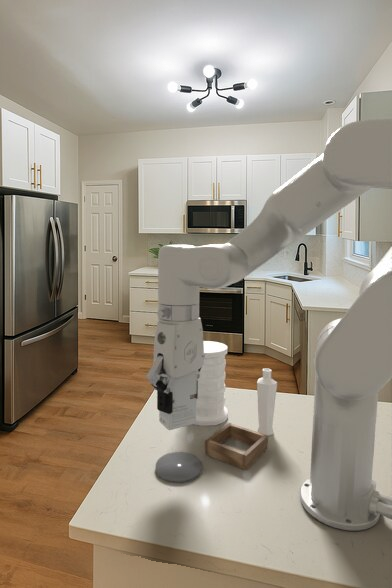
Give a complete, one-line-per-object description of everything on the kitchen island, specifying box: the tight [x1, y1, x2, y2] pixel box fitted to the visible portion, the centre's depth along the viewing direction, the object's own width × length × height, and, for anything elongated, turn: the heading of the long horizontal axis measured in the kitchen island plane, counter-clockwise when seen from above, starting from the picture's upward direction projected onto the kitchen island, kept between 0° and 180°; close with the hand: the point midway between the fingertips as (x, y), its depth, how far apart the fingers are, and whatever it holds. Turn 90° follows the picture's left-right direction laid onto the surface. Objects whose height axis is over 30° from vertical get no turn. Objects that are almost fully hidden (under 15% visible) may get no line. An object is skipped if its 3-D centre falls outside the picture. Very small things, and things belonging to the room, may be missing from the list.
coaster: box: [155, 451, 203, 484], centre depth 74 cm, size 9×9×1 cm
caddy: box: [204, 422, 269, 471], centre depth 80 cm, size 10×10×3 cm
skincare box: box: [158, 370, 197, 431], centre depth 72 cm, size 6×4×12 cm
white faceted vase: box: [256, 368, 278, 437], centre depth 87 cm, size 5×4×15 cm
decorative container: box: [193, 340, 229, 427], centre depth 96 cm, size 12×12×18 cm
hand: (178, 403), depth 72 cm, fingers closed on skincare box, 7 cm apart
